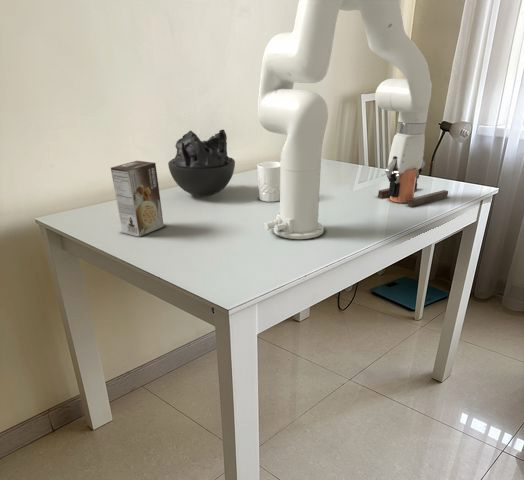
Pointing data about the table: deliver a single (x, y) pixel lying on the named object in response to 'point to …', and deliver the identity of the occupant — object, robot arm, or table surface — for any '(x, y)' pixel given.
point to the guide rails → (420, 199)
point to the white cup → (269, 181)
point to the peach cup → (406, 186)
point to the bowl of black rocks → (202, 164)
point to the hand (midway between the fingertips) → (401, 193)
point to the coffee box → (137, 197)
